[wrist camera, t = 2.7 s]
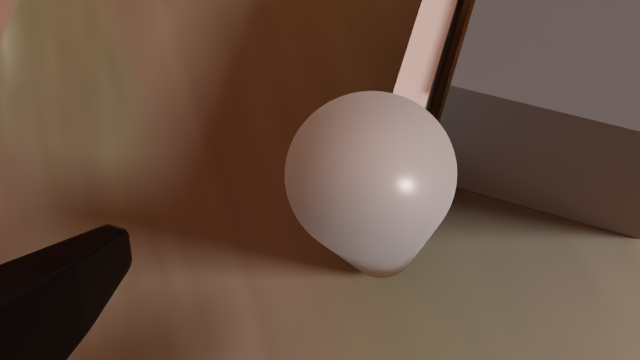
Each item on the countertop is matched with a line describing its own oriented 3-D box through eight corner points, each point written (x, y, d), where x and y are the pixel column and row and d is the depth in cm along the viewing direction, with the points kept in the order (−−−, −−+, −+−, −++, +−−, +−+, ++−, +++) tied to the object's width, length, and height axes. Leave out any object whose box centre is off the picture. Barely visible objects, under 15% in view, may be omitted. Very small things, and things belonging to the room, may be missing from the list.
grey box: (638, 238, 18) (878, 189, 9) (420, 176, 19) (445, 83, 11) (689, -2, 19) (933, -239, 11) (484, -41, 21) (552, -275, 12)
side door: (404, 287, 18) (429, 282, 7) (336, 264, 18) (261, 228, 7) (488, -1, 20) (607, -348, 9) (424, -14, 20) (465, -357, 9)
